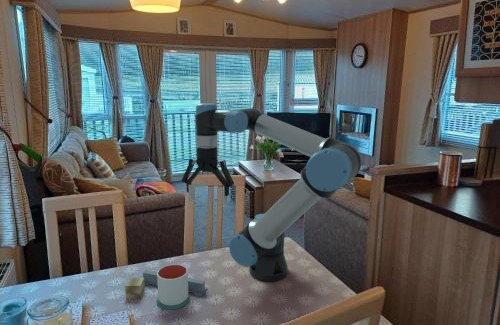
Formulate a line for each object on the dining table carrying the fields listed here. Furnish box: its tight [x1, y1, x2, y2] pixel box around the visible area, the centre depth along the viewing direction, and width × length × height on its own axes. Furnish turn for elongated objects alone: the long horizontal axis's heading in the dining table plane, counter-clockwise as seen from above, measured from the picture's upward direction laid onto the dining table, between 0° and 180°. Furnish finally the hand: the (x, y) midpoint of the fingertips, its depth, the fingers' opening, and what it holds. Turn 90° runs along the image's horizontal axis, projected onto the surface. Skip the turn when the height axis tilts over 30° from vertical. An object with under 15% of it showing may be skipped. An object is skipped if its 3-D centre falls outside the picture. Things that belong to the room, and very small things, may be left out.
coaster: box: [156, 293, 191, 311], centre depth 117 cm, size 11×11×1 cm
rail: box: [142, 269, 208, 298], centre depth 125 cm, size 24×5×4 cm, turn 72°
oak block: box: [124, 277, 146, 300], centre depth 120 cm, size 5×5×5 cm
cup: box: [156, 264, 189, 306], centre depth 116 cm, size 10×10×10 cm
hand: (207, 202), depth 130 cm, fingers open, 13 cm apart
